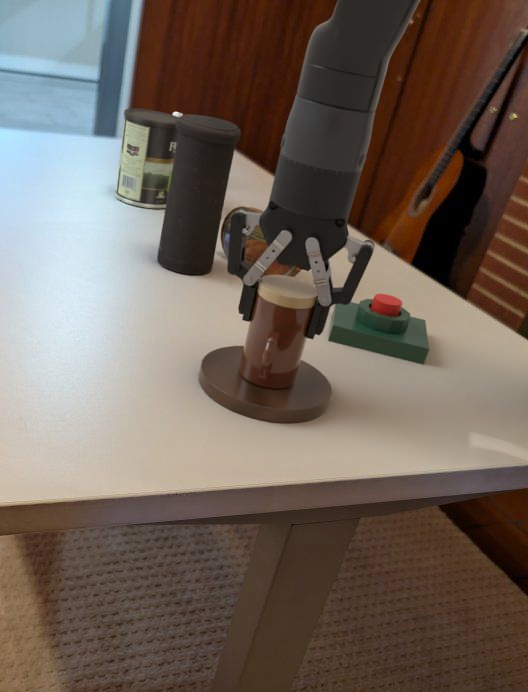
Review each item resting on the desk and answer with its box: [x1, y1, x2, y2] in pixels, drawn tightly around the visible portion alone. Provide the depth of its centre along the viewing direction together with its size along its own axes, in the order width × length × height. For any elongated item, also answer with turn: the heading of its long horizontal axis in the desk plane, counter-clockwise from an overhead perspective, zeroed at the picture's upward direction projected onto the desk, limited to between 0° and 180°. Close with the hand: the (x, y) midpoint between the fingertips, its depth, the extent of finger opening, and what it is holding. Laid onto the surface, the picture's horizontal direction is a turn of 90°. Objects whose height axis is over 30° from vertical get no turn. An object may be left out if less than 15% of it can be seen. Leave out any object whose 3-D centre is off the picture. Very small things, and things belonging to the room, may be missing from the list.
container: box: [156, 113, 242, 275], centre depth 103 cm, size 9×9×20 cm
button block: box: [327, 298, 430, 365], centre depth 97 cm, size 12×10×4 cm
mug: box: [239, 275, 318, 389], centre depth 76 cm, size 8×6×10 cm
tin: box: [220, 205, 302, 278], centre depth 110 cm, size 15×3×8 cm, turn 43°
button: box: [370, 293, 403, 317], centre depth 95 cm, size 4×4×2 cm
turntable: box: [198, 345, 333, 424], centre depth 80 cm, size 14×14×2 cm
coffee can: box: [114, 108, 179, 210], centre depth 130 cm, size 10×10×14 cm
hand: (278, 326), depth 76 cm, fingers closed on mug, 6 cm apart
